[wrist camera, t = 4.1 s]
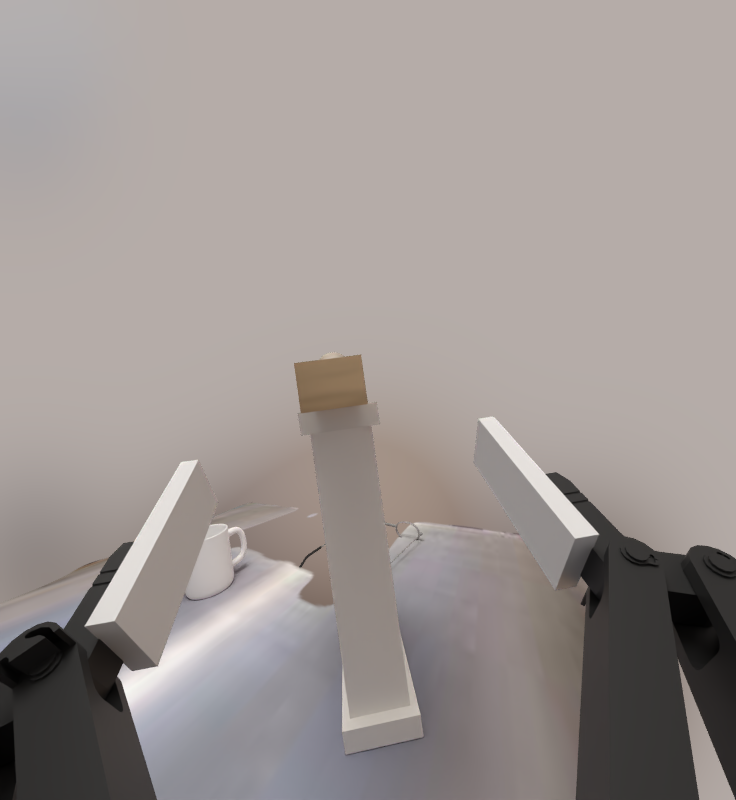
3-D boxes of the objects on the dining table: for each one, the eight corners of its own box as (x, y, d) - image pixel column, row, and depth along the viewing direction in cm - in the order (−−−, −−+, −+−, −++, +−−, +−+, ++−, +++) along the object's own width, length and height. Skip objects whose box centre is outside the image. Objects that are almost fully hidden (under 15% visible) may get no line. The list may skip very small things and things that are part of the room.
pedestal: (344, 630, 42) (314, 410, 42) (395, 620, 43) (365, 403, 43) (345, 754, 27) (297, 413, 27) (423, 737, 28) (376, 402, 28)
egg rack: (325, 408, 42) (319, 366, 42) (354, 404, 43) (348, 362, 43) (301, 413, 18) (287, 316, 18) (367, 404, 19) (354, 308, 19)
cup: (178, 592, 58) (170, 538, 58) (239, 561, 67) (233, 514, 67) (196, 606, 53) (188, 546, 53) (260, 570, 62) (253, 519, 62)
